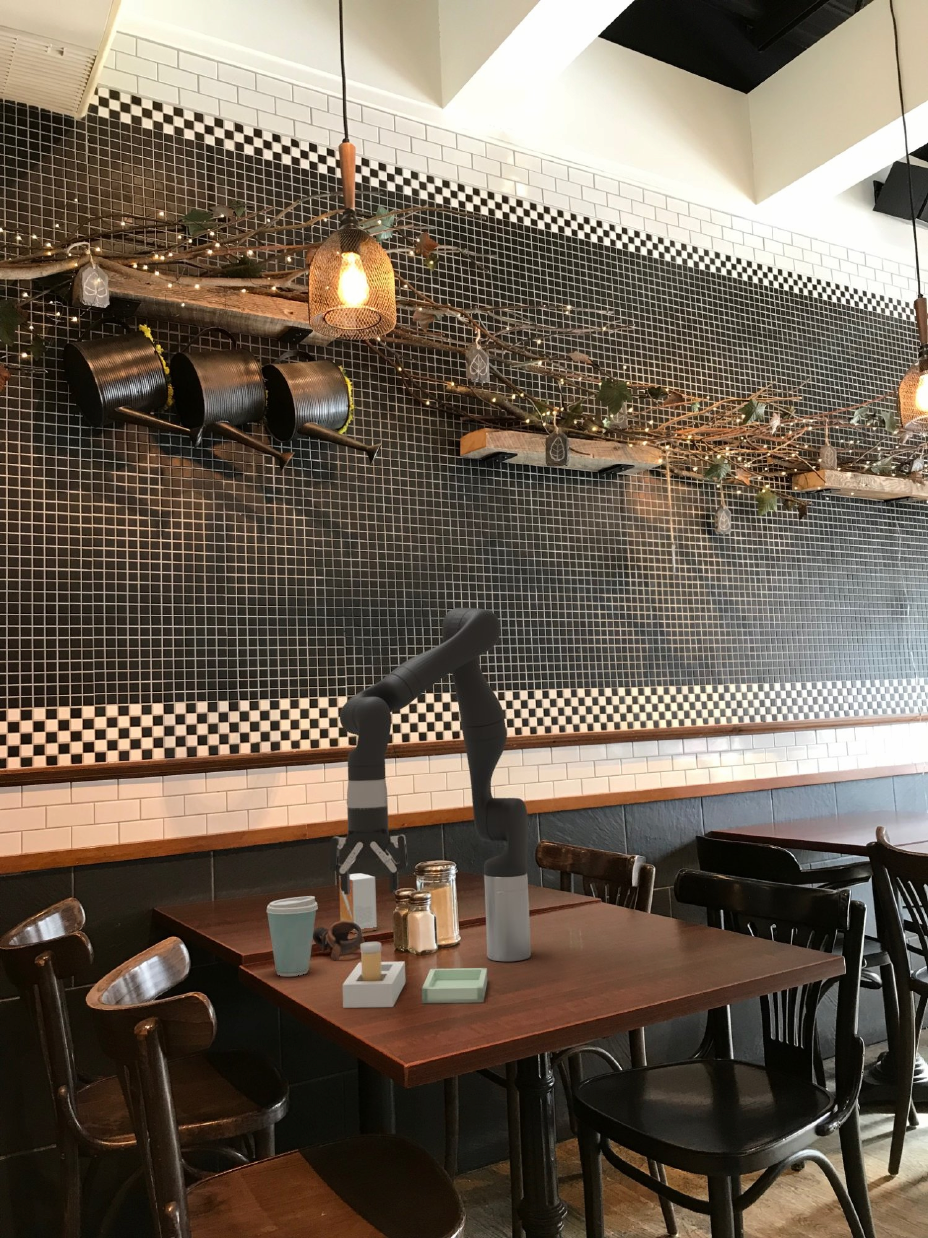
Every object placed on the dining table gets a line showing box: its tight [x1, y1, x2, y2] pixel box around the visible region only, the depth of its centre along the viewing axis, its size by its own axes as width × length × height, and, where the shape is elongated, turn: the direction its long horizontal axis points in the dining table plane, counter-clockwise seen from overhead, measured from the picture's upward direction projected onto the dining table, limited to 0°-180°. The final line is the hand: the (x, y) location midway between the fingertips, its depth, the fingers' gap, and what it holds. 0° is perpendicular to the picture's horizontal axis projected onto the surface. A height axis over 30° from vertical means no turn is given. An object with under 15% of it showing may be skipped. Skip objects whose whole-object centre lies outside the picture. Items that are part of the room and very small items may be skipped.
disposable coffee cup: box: [266, 895, 319, 978], centre depth 202 cm, size 11×11×15 cm
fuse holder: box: [342, 961, 406, 1009], centre depth 183 cm, size 16×9×4 cm, turn 175°
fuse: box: [359, 941, 382, 981], centre depth 180 cm, size 4×4×10 cm
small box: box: [338, 872, 378, 930], centre depth 241 cm, size 8×6×13 cm
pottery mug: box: [312, 920, 365, 961], centre depth 215 cm, size 12×10×8 cm
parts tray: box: [421, 967, 489, 1004], centre depth 183 cm, size 14×11×2 cm
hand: (369, 893), depth 182 cm, fingers open, 8 cm apart
